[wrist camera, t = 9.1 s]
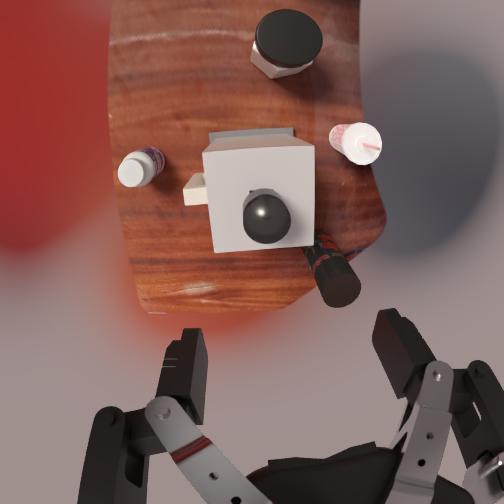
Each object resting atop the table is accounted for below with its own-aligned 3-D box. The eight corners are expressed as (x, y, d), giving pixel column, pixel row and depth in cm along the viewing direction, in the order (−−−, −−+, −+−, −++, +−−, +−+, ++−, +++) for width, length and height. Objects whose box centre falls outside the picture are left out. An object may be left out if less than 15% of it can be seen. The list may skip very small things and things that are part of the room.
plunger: (222, 151, 35) (210, 177, 22) (286, 147, 35) (317, 170, 22) (228, 211, 39) (222, 269, 26) (288, 207, 39) (315, 262, 26)
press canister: (195, 134, 42) (168, 147, 26) (291, 127, 42) (323, 136, 26) (204, 209, 48) (186, 262, 32) (293, 202, 48) (321, 252, 32)
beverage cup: (360, 153, 44) (400, 170, 32) (327, 157, 45) (359, 175, 32) (355, 118, 42) (396, 123, 29) (322, 122, 42) (353, 126, 30)
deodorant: (295, 246, 52) (313, 294, 39) (318, 223, 50) (345, 266, 37) (316, 264, 54) (338, 314, 41) (338, 243, 52) (368, 288, 39)
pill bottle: (171, 167, 45) (155, 181, 36) (145, 182, 45) (125, 199, 37) (156, 140, 42) (136, 147, 34) (130, 156, 43) (107, 167, 35)
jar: (296, 85, 39) (314, 76, 28) (245, 73, 38) (247, 59, 27) (308, 39, 35) (330, 18, 25) (258, 26, 34) (265, -1, 23)
